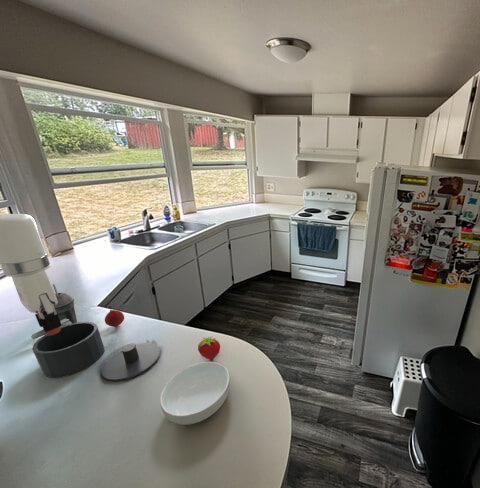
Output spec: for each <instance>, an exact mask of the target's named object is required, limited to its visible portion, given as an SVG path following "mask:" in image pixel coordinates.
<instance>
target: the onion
mask: <svg viewBox="0 0 480 488" xmlns="http://www.w3.org/2000/svg"><path fill="white" fill-rule="evenodd" d="M124 321H125V315H124V313H123V312H122V311H120V310H116V309H112V308H111V309H109V312H108V313H106V315H105V317H104V323H105V325H107V326H108V327H112V328H117V327H119V326H120V325H122V324H123V322H124Z"/></svg>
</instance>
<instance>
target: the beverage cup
mask: <svg viewBox="0 0 480 488" xmlns="http://www.w3.org/2000/svg"><path fill="white" fill-rule="evenodd" d="M52 287H53V289H54V292H55V295H56V298H57V302H58V303H57V304H56V305H54V308H55V310H56V313H57V314H58V317H59V319H60V321H61V320H64V319H69V320H70V322H71V323H72V324H74V323H78V319H77V314H76V310H75V302H74V301H75V299H74V298H73V296H72V295H71V294H68V293H67V292H58V290H57V287H56V284H55V283H53V284H52ZM68 322H69V321H68Z"/></svg>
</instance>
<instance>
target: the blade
mask: <svg viewBox="0 0 480 488" xmlns="http://www.w3.org/2000/svg"><path fill="white" fill-rule="evenodd" d="M43 311H45V310H42V312H43ZM36 312H37V313H36V314H38V316H39V319H41V317H40V315H39V313H38V311H36ZM68 321H69V322H68ZM60 322H61V326H60V327H58V328H55V329H53V330H50V331H48V332H45V331H44V329H43V328H42V329H40V330H39V331H37V332H34V333H32V334H31V336H30V338H31V339H32V340H36V339H39V338H41V337H43V336H44V335H47V336H50V335H54V334H56V333H58V332H60V330H61V328H63V327H66V326H68V325H71V324H72V323H71V322H70V320H69V319H64V320H61V321H60Z"/></svg>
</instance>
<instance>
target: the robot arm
mask: <svg viewBox="0 0 480 488" xmlns="http://www.w3.org/2000/svg"><path fill="white" fill-rule="evenodd" d="M51 266H52V265H51V263H50V260H49V258H48V255H47V252H46V249H45V246H44V243H43V240H42V237H41V235H40V232H39V229H38V226H37V223H36V221H35V219H34V218H33V217H32V216H31V215H29V214H26V213H7V214H6V213H5V214H2V213H0V267H1V269H2V271H3V275H4V276H5V277H9V278H11V279H12V281H13V285H14V287H15V290H16V292H17V295H18V298H19V301H20V304H21V305H22V306H23V307H24V308H25V309H26V310H27V311H28V312H30V313H34V316H35V319H36V321H37V323H38V325H39V327H40V328H42V330H43V329H44V331H45V332H48V331H50V330H53V329H55V328H58V327H60V326H61V322H60V319H59V317H58V314H57V313H56V310H55V308H54V305H56V304H57V303H58V302H57V298H56V295H55V294H56V293H55V290H54V287H53V284H52V282H51V280H50V276H49V274H48V272H47V270H48V269H50V268H51ZM42 310H45V311H43V312H42ZM36 311H38V313H39V315H40V317H41V319H39V316H38V314H37V312H36Z"/></svg>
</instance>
